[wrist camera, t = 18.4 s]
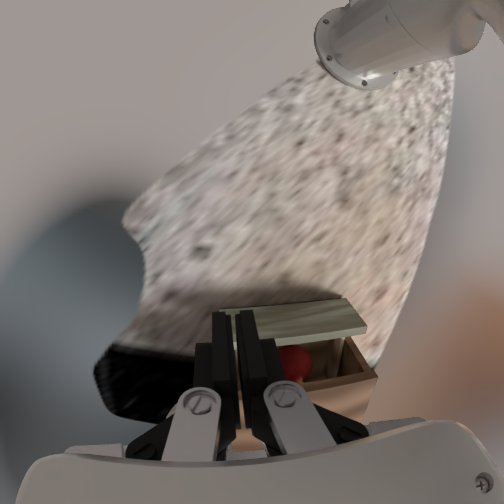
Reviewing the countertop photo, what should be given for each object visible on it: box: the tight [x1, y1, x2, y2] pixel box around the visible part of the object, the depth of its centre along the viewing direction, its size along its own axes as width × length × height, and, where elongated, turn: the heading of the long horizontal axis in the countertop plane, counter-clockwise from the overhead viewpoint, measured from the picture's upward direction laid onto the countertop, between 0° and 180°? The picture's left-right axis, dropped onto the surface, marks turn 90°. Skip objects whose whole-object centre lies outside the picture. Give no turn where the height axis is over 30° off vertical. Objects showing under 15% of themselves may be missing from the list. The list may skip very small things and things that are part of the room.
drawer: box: [219, 298, 367, 391], centre depth 40 cm, size 15×19×8 cm
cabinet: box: [231, 336, 378, 452], centre depth 38 cm, size 12×19×14 cm
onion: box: [278, 345, 313, 384], centre depth 39 cm, size 6×6×8 cm
